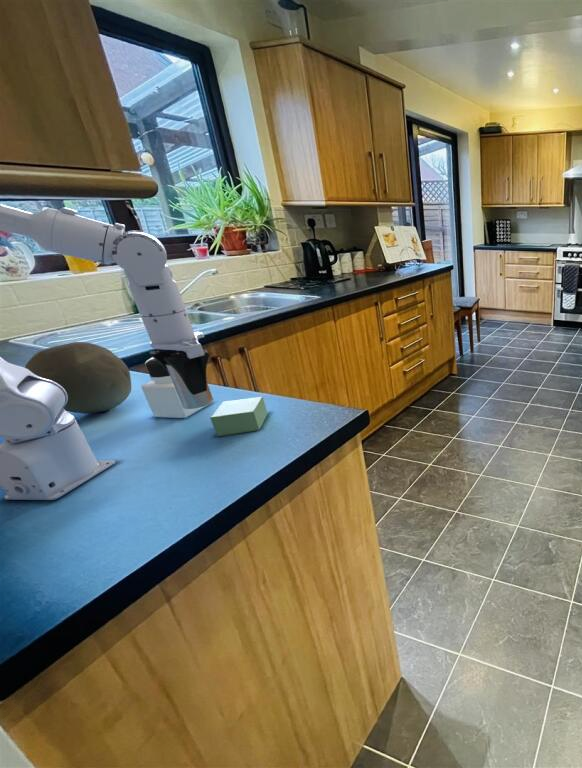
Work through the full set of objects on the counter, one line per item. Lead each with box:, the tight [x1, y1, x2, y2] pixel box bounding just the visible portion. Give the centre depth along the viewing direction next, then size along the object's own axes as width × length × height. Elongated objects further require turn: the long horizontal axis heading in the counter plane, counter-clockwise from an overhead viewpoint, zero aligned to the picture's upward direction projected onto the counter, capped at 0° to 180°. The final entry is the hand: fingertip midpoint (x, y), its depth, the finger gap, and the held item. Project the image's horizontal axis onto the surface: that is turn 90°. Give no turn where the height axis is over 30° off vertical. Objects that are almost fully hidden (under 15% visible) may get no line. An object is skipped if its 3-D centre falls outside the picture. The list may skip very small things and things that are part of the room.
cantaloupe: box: [24, 341, 132, 414], centre depth 81 cm, size 14×14×15 cm
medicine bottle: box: [140, 356, 213, 419], centre depth 82 cm, size 7×7×12 cm
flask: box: [166, 351, 214, 409], centre depth 68 cm, size 4×4×10 cm
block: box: [210, 396, 269, 437], centre depth 77 cm, size 7×7×4 cm
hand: (193, 389), depth 69 cm, fingers closed on flask, 4 cm apart
